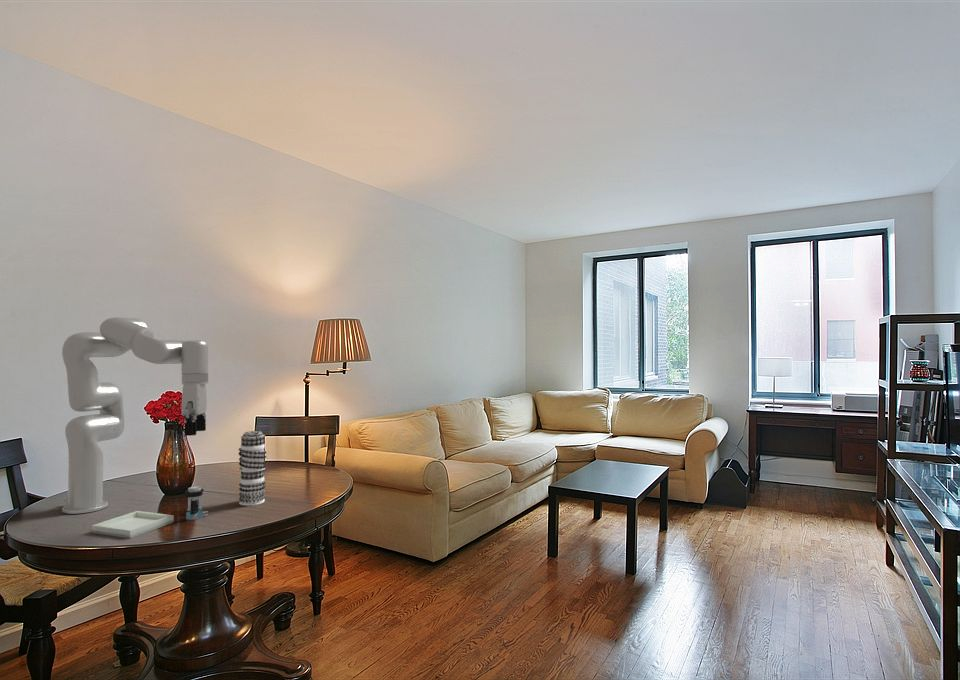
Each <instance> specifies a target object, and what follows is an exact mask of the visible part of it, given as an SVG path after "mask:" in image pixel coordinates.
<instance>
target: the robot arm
mask: <svg viewBox="0 0 960 680" xmlns="http://www.w3.org/2000/svg"><path fill="white" fill-rule="evenodd" d="M61 349H62V351H61V354H62V356H61V357H62V360H63V363H64V366H65V370H66V377H67V378H66V379H67V392H68V393H67V394H68V403H69V406H70V409H72V411H74V412H81V413H85V412H93V411H99V413H97V414H96V413H95V414H88V415H81V416H77V417H74V418H72V419H71V420H70V421H69V422H68V423H67V424H66V426H65V431H64V434H65V439H66V443H67V449H68V489H67V493H68V494H67V495H66V496H64V497H62V502H66V505H65V506H63V507H62V510H61V511H62V513H64V514H69V515H75V514H77V515H78V514H86V513H92V512H96V511H100V510H104V509H105V508H106V507H108V505H109V502H108V501H107V500H104V496H103V492H104V491H103V490H104V488H103V487H104V453H103V451H102V449H101V447H100V446H99V445H98V443H100V442H104V441H110V440H115V439H117V438H119V437H120V436H121V435H122V434H123V433H124V429H125V413H124V401H123V400H124V399H123V394H122V391H121V389H120V388H119V386H118V385H117V384H116V383H112V382H108V381H107V382H100V381H99V371H98V369H97V367H96V365H95V364H94V362H93V361H92V360H91V359H90V358H116V357H119V356H122V355H124V354H126V353H128V352H129V351H132V354H133V355H134V356H135V357H137V358H138V359H140V360H144V361H145V362H148V363H152V364H155V365H179V364H181V385H182V391H181V415H182V416H183V417H184V421H183V422H184V436H186V437H187V436H188V437H190V436H196V435H197V432H204V431H206V429H207V426H206V425H207V424H206V423H207V420H206V418H207V417H206V413H207V406H208V405H207V387H206V384H209V345H208V343H207V341H205V340H175V339H174V340H173V339H171V340H169V339H168V340H167V339H165V340H163V339H161V340H160V339H157V338H156V339H155V335H154V333H153V331H152V330H151V329H150V328H149V327H148V324H147V323H146V322H145V321H143V320H142V319H139V318H135V317H118V316H117V317H109V318H107V319H105V320H103V321H102V322H101V324H100V325H99V332H94V331H93V332H92V331H91V332H89V331H88V332H77V333H74V334H71V335H69V336H68V337H67V338H66V339H65V341H64V342H63V345H62V348H61Z"/></svg>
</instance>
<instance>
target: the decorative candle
mask: <svg viewBox="0 0 960 680" xmlns="http://www.w3.org/2000/svg"><path fill="white" fill-rule="evenodd" d="M265 437H266V435H265V434H263V432H262V431H260V430H250V431H245V432H244V433H243V435H241V436H240V439H241V441H240V442H241V444H240V447H239V448H238V450H239V452H238V456H239V458H238V460H239V462H238V465H239V466H240V467H239V471H240V479H239V481H240V483H239V489H238V490H239V491H240V492H239V493H238V496H239V497H238V500H239V502H238V503H239V504H238V505H241V506H246V507H247V506H249V507H250V506H257V505H261V504H263V503H264V502H265V501H266V499H265V498H266V495H265V493H266V491H265V488H266V486H265V484H266V481H265V475H264V473H265V472H264V470H266V465H265V464H266V463H267V461H265V459H266V458H267V456H266V454H267V451H265V447H266V446H265V445H266V444H265Z"/></svg>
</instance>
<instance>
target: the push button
mask: <svg viewBox="0 0 960 680" xmlns="http://www.w3.org/2000/svg"><path fill="white" fill-rule="evenodd" d="M204 492H205V490H204V488H202V486H200V485H194V486H190V487H188V488H187V490H185V491H184V493H185V497H187V509H186V510H185V511H184V512H185V513H184V515H185V516H184V519H185V520H186V521H187V522H188V521H193V520H194V521H195V520H198V519H203V518H204V516H208V515H209V514H208V512H209V511H207V510H206V511H204V510H203V509H202V506H201V500H202V499H201V496H203V494H204ZM205 513H206V514H205Z"/></svg>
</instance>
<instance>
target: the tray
mask: <svg viewBox="0 0 960 680" xmlns="http://www.w3.org/2000/svg"><path fill="white" fill-rule="evenodd" d="M174 518H175V516H174V515H173V514H167V513H166V514H164V513H158V512H157V513H156V512H149V511H141V510H134V511H133V512H129V513H126V514H123V515H121V516H117V517H113V518H110V519H108V520H104V521H101V522H98V523H95V524H92V525H91V534H98V535H105V536H111V537H118V538H125V539H133V538H135V537H138V536H140V535H143V534H146V533H149V532H151V531H155V530H156V529H159V528H162V527H165V526H167V525H171V524H173V523H174V521H175V519H174Z"/></svg>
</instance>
